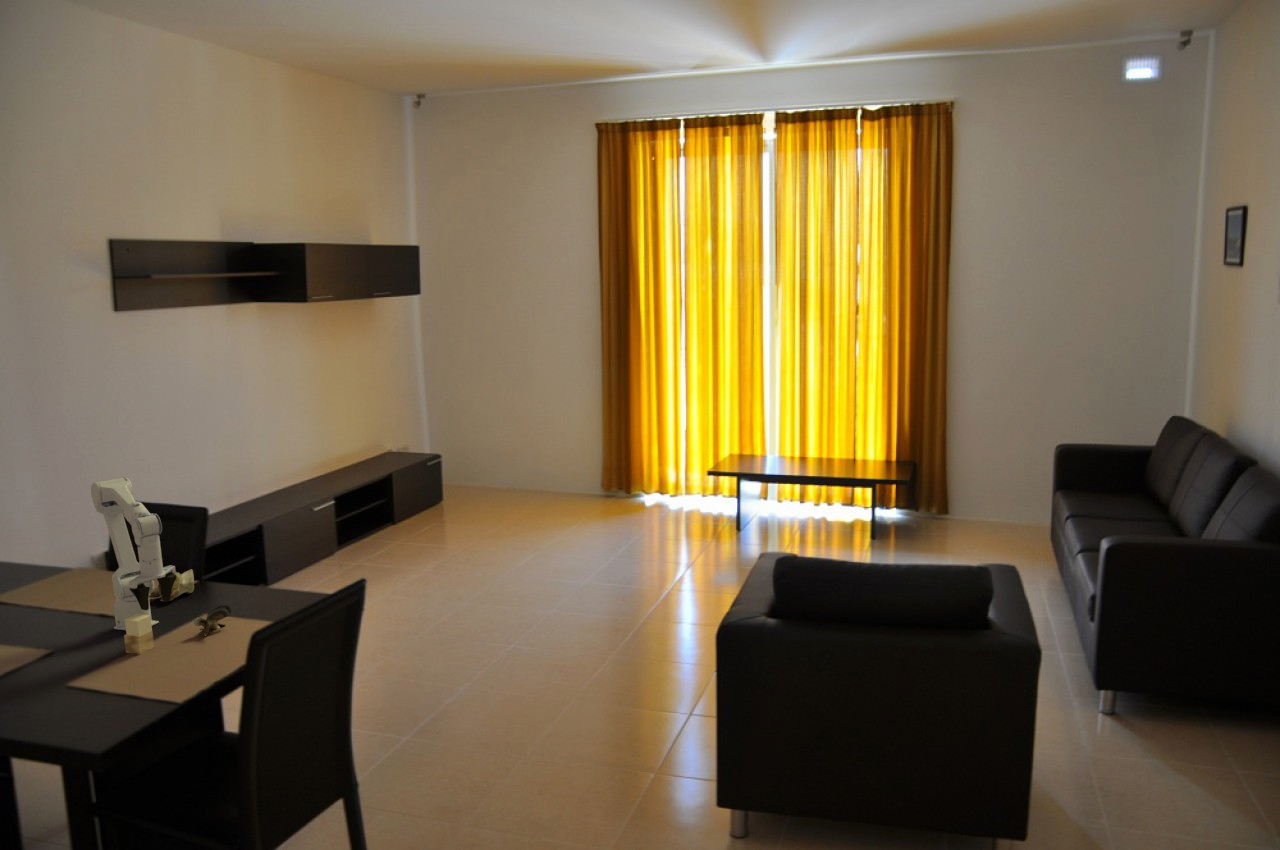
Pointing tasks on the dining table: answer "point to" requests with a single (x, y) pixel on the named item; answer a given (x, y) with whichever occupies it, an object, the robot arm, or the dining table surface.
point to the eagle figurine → (214, 618)
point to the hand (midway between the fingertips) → (155, 604)
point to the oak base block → (139, 643)
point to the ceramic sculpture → (178, 585)
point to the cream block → (138, 625)
